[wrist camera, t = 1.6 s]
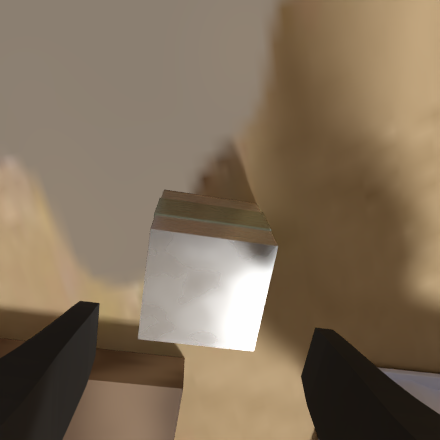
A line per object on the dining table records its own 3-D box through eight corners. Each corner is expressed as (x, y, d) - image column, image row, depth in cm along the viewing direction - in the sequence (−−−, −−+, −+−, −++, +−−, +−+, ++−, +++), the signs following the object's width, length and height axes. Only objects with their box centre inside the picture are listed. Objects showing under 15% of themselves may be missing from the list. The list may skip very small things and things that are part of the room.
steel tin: (257, 202, 20) (279, 245, 15) (240, 285, 22) (254, 352, 16) (163, 188, 20) (149, 227, 14) (152, 274, 21) (136, 339, 16)
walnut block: (184, 353, 24) (182, 388, 21) (165, 467, 27) (161, 511, 24) (-14, 332, 23) (-45, 366, 20) (-10, 454, 26) (-36, 499, 23)
